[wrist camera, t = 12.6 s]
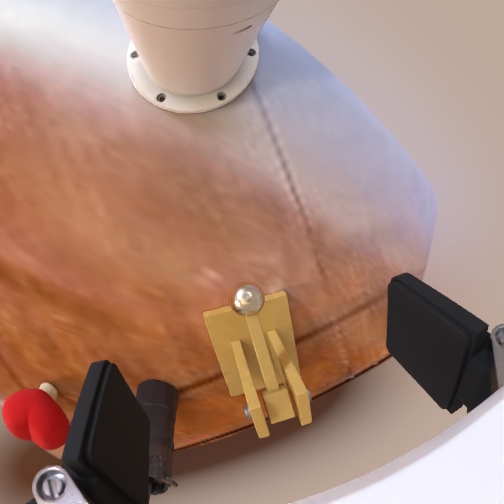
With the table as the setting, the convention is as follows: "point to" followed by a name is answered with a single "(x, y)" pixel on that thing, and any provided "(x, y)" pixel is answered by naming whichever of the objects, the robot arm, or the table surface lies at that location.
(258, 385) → the bracket
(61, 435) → the red rounded lump
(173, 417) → the butter churn
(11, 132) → the table surface
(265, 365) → the switch lever
